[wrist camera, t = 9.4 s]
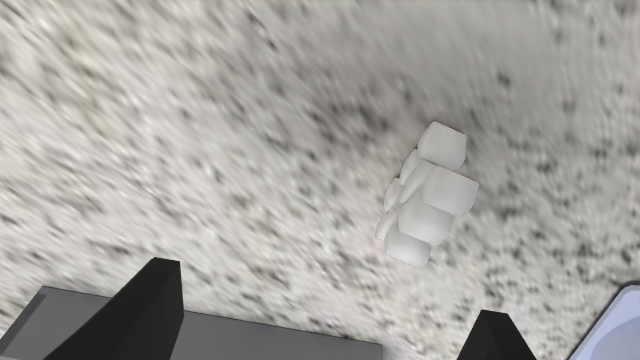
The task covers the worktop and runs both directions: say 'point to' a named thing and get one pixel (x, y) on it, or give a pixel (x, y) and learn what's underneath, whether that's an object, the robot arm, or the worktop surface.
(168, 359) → the robot arm
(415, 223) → the marshmallow
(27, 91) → the worktop surface
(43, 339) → the organiser
